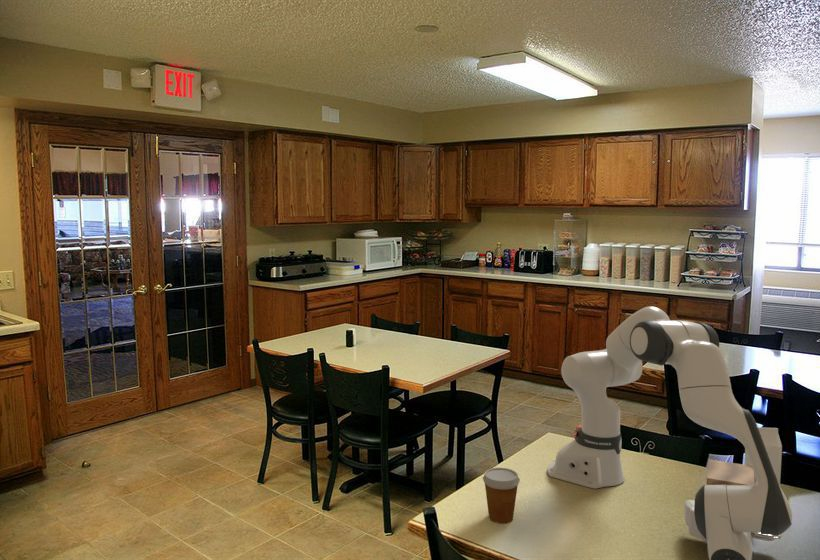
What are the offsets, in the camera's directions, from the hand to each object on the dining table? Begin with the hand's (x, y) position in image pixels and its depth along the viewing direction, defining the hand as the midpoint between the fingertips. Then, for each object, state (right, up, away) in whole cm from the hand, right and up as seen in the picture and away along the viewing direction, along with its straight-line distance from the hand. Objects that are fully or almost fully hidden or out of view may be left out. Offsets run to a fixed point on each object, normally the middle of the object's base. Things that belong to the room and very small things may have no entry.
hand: (730, 505), depth 155 cm
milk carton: (+20, -4, +21) cm, 29 cm away
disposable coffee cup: (-57, -6, +7) cm, 57 cm away
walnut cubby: (+6, -5, +11) cm, 14 cm away
